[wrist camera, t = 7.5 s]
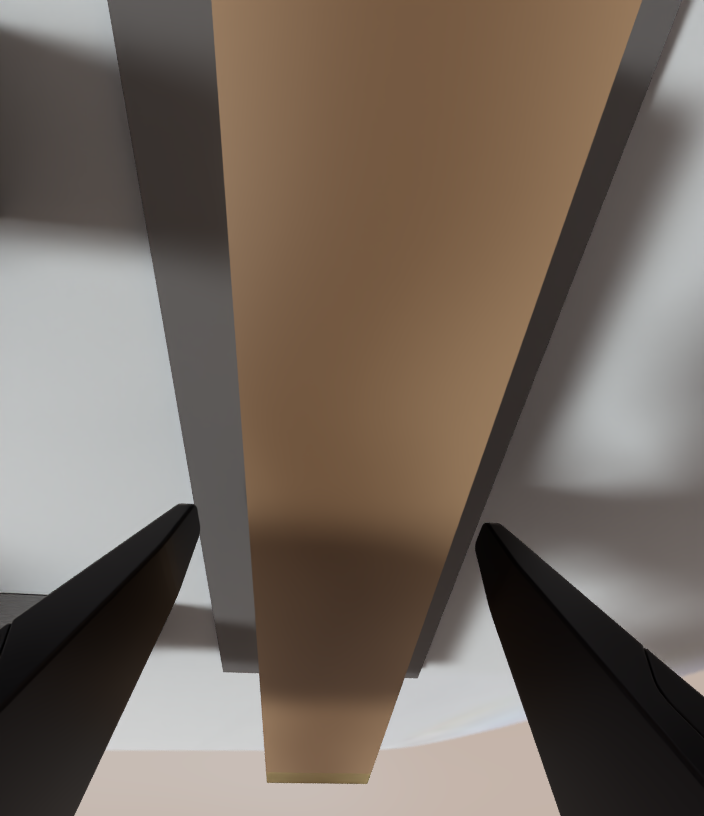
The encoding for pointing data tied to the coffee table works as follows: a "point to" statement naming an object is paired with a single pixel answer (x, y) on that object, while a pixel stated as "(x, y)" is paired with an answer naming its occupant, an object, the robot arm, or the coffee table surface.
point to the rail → (383, 310)
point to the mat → (212, 290)
